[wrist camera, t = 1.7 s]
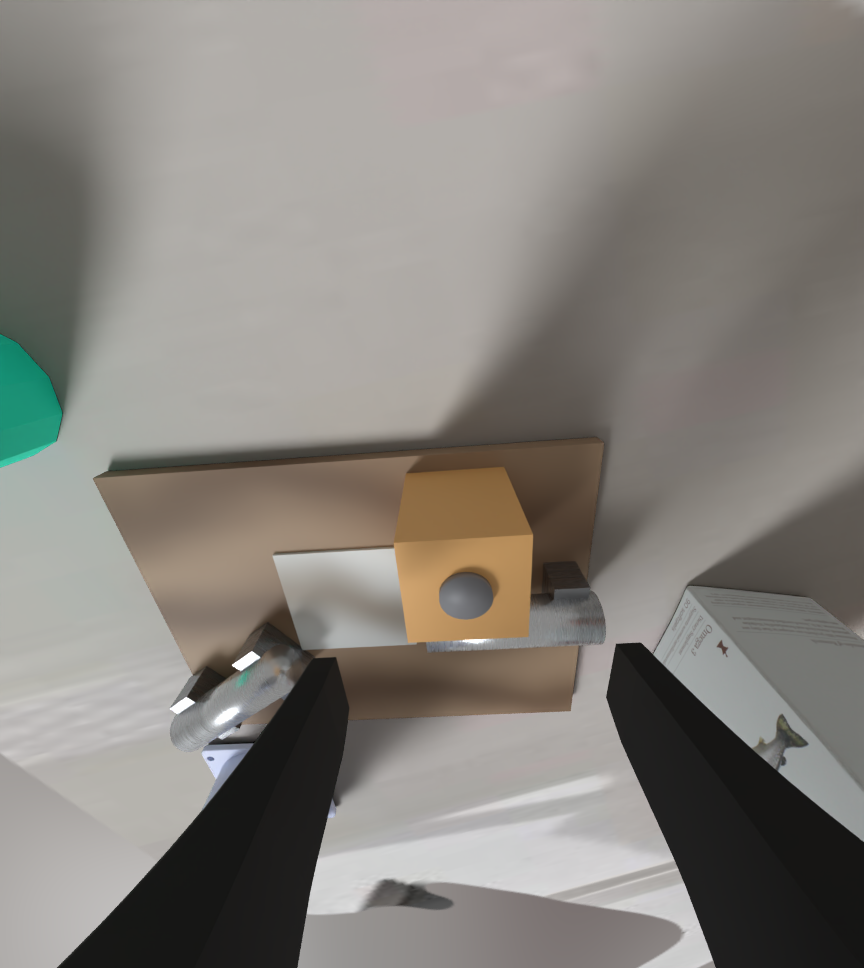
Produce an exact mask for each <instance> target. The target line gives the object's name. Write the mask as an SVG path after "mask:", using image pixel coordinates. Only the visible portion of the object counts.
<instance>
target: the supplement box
mask: <svg viewBox="0 0 864 968" xmlns="http://www.w3.org/2000/svg"><path fill="white" fill-rule="evenodd" d="M653 655H654V656H655V657H656V658H657V659H658V660H659V661H660V662H661V663H662V664H663V665H664V666H665V667H666V668H667V669H668V670H669V671H670V672H671V673H672V674H673V675H674V676H675V677H676V678H677V679H678V680H679V681H680V682H681V683H682V684H683V685H684V686H686V687H687V688H688V689H689V690H690V691H691V692H692V693H693V694H694V695H695V696H696V697H697V698H698V699H699V700H700V701H701V702H702V703H703V704H704V705H705V706H706V707H707V708H708V709H709V710H710V711H712V712H713V713H714V714H715V715H716V716H717V717H718V718H719V719H720V720H721V721H722V722H723V723H724V724H726V725H727V726H728V727H729V728H730V729H731V730H732V731H733V732H734V733H735V734H736V735H737V736H738V737H740V738H741V739H742V740H743V741H744V742H745V743H746V744H747V745H748V746H750V747H751V748H752V749H753V750H754V751H755V752H756V753H757V754H758V755H760V756H761V757H762V758H763V759H764V760H765V761H767V762H768V763H769V764H770V765H771V766H772V767H773V768H775V769H776V770H777V771H778V772H779V773H780V774H781V775H783V776H784V777H785V778H786V779H787V780H788V781H790V782H791V783H792V784H793V785H794V786H796V787H797V788H798V789H799V790H800V791H801V792H803V793H804V794H805V795H806V796H807V797H809V798H810V799H811V800H812V801H813V802H815V803H816V804H817V805H818V806H820V807H821V808H822V809H823V810H824V811H826V812H827V813H828V814H829V815H831V816H832V817H833V818H834V819H836V820H837V821H838V822H839V823H841V824H842V825H843V826H845V827H846V828H847V829H848V830H850V831H851V832H852V833H853V834H855V835H856V836H857V837H858V838H860V839H861V840H862V841H863V842H864V640H863V639H862V638H861V637H859V636H858V635H857V634H856V633H854V632H853V631H852V630H851V629H849V628H848V627H847V626H846V625H844V624H843V623H842V622H840V621H839V620H838V619H837V618H835V617H834V616H833V615H832V614H830V613H829V612H828V611H827V610H825V609H824V608H823V607H821V606H820V605H819V604H818V603H816V602H815V601H814V600H813V599H811V598H807V597H799V596H791V595H781V594H770V593H762V592H752V591H743V590H733V589H723V588H712V587H702V586H688V587H687V588H686V590H685V592H684V595H683V597H682V600H681V602H680V604H679V606H678V608H677V610H676V612H675V614H674V616H673V618H672V620H671V622H670V624H669V626H668V628H667V630H666V632H665V634H664V635H663V637H662V639H661V641H660V643H659V645H658V646H657V648H656V650H655V652H654V654H653Z"/></svg>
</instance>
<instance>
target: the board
mask: <svg viewBox="0 0 864 968" xmlns="http://www.w3.org/2000/svg"><path fill="white" fill-rule="evenodd" d="M603 449H604V442H602V441H601V440H600V439H599V438H597V437H592V438H577V439H563V440H549V441H534V442H520V443H506V444H491V445H477V446H463V447H448V448H434V449H420V450H406V451H391V452H377V453H363V454H348V455H334V456H320V457H305V458H291V459H277V460H262V461H248V462H234V463H219V464H205V465H191V466H177V467H162V468H148V469H134V470H119V471H106V472H104V473H102V474H100V475H98V476H96V477H94V478H93V480H94V482H95V484H96V486H97V488H98V490H99V492H100V494H101V496H102V498H103V500H104V502H105V503H106V505H107V507H108V509H109V511H110V513H111V515H112V517H113V519H114V521H115V523H116V525H117V527H118V529H119V531H120V533H121V535H122V537H123V539H124V541H125V543H126V545H127V547H128V549H129V551H130V553H131V555H132V556H133V558H134V560H135V562H136V564H137V566H138V568H139V570H140V572H141V574H142V576H143V578H144V580H145V582H146V584H147V586H148V588H149V590H150V592H151V594H152V596H153V598H154V600H155V602H156V604H157V606H158V608H159V609H160V611H161V613H162V615H163V617H164V619H165V621H166V623H167V625H168V627H169V629H170V631H171V633H172V635H173V637H174V639H175V641H176V643H177V645H178V647H179V649H180V651H181V653H182V655H183V657H184V659H185V661H186V662H187V664H188V666H189V668H190V670H191V672H192V674H193V675H194V674H196V673H197V672H198V671H200V670H201V669H203V668H204V667H205V666H208V667H210V668H211V669H213V670H214V671H216V672H217V673H219V674H220V675H222V676H223V677H225V678H226V679H227V678H228V677H230V676H231V675H233V674H234V673H236V672H237V671H238V669H237V668H235V667H234V666H232V664H233V663H234V661H235V659H236V657H237V656H238V654H239V652H240V650H241V649H242V647H243V645H244V643H245V642H246V640H247V638H248V636H249V635H250V634H251V633H252V632H254V631H255V630H257V629H258V628H259V627H261V626H262V625H264V624H265V623H266V622H269V623H270V624H272V625H273V626H274V627H276V628H277V629H278V630H280V631H281V632H282V633H284V634H285V635H286V636H288V637H289V638H291V639H292V640H293V641H295V642H296V643H297V644H299V645H300V646H301V648H302V650H307V651H308V652H309V653H311V654H312V655H313V656H315V658H326V657H336V658H337V662H338V666H339V670H340V674H341V677H342V681H343V685H344V689H345V693H346V696H347V700H348V704H349V716H348V720H365V719H389V718H414V717H438V716H463V715H487V714H512V713H536V712H560V711H571V703H572V696H573V688H574V680H575V672H576V664H577V656H578V648H579V645H578V646H557V647H536V648H515V649H494V650H473V651H452V652H431V653H428V652H427V646H426V642H416V643H408V639H407V633H406V626H405V619H404V612H403V605H402V598H401V591H400V584H399V577H398V570H397V563H396V556H395V549H394V538H395V532H396V526H397V521H398V515H399V510H400V504H401V498H402V493H403V487H404V481H405V476H406V473H419V472H434V471H448V470H463V469H478V468H493V467H504V468H505V470H506V472H507V475H508V477H509V479H510V482H511V484H512V486H513V489H514V491H515V493H516V496H517V498H518V500H519V503H520V505H521V507H522V510H523V512H524V514H525V517H526V519H527V521H528V524H529V526H530V528H531V531H532V533H533V551H532V573H531V594H539V593H541V592H542V576H543V563H545V562H563V561H576V563H577V565H578V566H579V568H580V570H581V572H582V574H583V575H584V577H585V579H586V581H587V576H588V568H589V560H590V552H591V544H592V536H593V528H594V520H595V512H596V504H597V496H598V489H599V481H600V473H601V465H602V457H603ZM283 701H284V700H283V699H281V698H279V699H278V700H276V701H275V702H273V703H271V704H270V705H268V706H267V707H265V708H263V709H262V710H260V711H259V712H257V713H255V714H254V715H252V716H251V717H249V718H247V719H246V720H244V721H243V722H242V724H241V725H243V724H267V723H269V722H270V720H271V719H272V717H273V716H274V715H275V713H276V712H277V710H278V709H279V707H280V706H281V704H282V703H283Z"/></svg>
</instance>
